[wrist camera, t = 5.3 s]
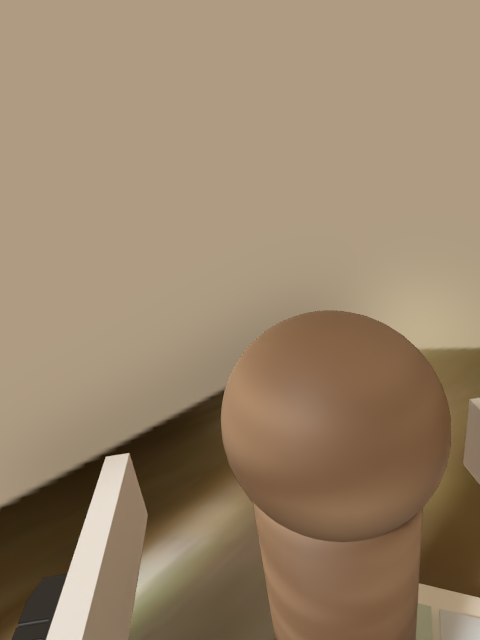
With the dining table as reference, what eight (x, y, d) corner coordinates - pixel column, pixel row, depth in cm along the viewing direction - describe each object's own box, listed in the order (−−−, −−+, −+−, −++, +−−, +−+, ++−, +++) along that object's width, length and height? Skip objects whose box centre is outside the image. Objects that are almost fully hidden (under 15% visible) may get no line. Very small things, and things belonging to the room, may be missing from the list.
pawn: (253, 809, 12) (140, 380, 6) (293, 636, 16) (245, 278, 10) (434, 898, 10) (502, 413, 5) (428, 679, 14) (459, 276, 9)
